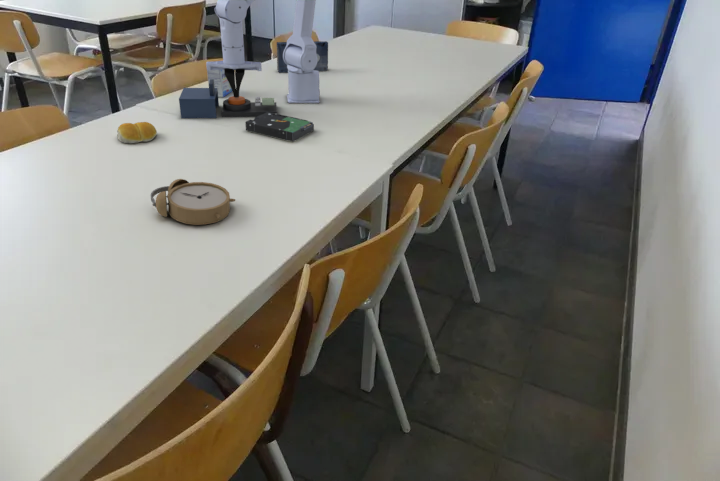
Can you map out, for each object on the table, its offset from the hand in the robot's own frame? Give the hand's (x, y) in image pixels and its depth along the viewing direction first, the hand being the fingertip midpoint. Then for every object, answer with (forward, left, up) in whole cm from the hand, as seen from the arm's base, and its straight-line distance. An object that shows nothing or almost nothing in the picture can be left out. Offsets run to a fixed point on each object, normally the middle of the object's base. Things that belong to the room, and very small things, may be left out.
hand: (236, 96), depth 153 cm
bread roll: (+23, +20, -5) cm, 31 cm away
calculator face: (-8, 0, -2) cm, 8 cm away
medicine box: (+5, -18, -5) cm, 19 cm away
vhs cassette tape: (-22, -47, -5) cm, 52 cm away
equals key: (0, 0, -2) cm, 2 cm away
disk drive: (-12, +16, -5) cm, 20 cm away
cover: (+10, 0, -4) cm, 11 cm away
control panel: (-4, 0, -4) cm, 6 cm away
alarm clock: (+6, +59, -5) cm, 60 cm away
